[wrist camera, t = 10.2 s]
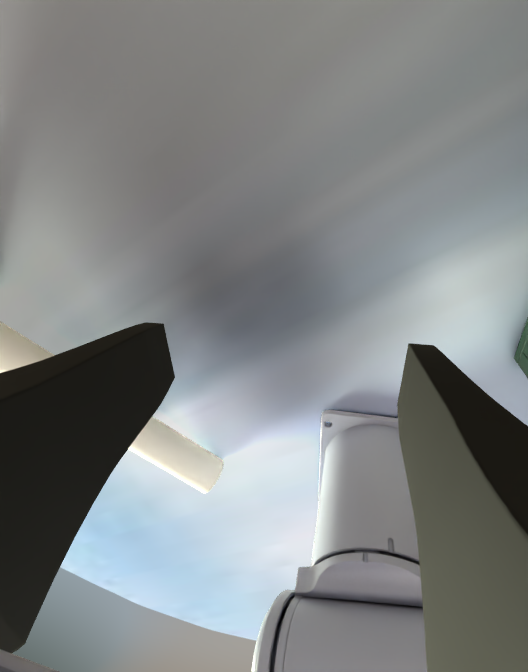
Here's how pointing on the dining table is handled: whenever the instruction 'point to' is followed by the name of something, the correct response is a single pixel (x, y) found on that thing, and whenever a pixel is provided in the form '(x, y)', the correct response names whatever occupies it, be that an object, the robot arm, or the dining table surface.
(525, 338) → the tote
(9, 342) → the paper towel holder
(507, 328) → the dining table surface
